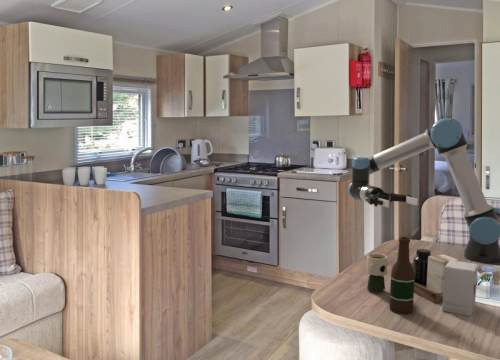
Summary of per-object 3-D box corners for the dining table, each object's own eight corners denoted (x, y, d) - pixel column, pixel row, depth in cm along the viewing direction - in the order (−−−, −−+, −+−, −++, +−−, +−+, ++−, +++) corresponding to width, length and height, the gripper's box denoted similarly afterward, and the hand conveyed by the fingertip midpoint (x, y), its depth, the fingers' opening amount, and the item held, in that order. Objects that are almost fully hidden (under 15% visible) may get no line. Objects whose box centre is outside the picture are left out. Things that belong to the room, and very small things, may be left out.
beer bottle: (385, 305, 163) (388, 235, 160) (407, 304, 164) (411, 234, 160) (393, 315, 155) (397, 241, 152) (417, 314, 156) (421, 240, 153)
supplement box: (471, 317, 154) (474, 271, 152) (441, 311, 159) (444, 266, 157) (475, 307, 162) (478, 263, 160) (446, 302, 166) (449, 259, 164)
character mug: (379, 297, 170) (380, 261, 168) (360, 293, 174) (361, 257, 172) (391, 289, 178) (393, 254, 176) (372, 284, 183) (374, 250, 181)
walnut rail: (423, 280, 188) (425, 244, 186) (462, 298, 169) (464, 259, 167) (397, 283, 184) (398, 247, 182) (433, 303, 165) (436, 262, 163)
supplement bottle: (433, 286, 176) (434, 253, 174) (413, 284, 177) (414, 252, 175) (430, 279, 182) (431, 248, 181) (410, 278, 184) (412, 247, 182)
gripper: (396, 201, 219) (428, 210, 199) (347, 205, 210) (376, 214, 191) (396, 185, 218) (429, 192, 198) (347, 187, 209) (376, 195, 190)
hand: (403, 203), depth 194 cm, fingers open, 13 cm apart
